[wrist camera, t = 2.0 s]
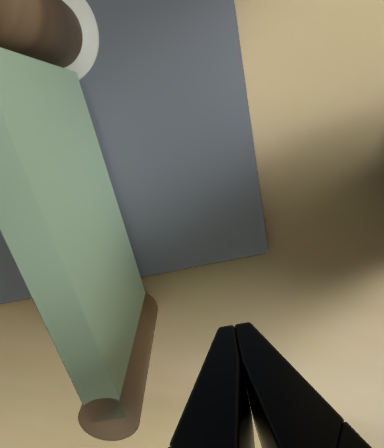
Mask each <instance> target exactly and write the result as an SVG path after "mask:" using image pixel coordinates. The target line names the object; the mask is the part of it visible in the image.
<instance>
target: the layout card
mask: <svg viewBox="0 0 384 448" xmlns="http://www.w3.org/2000/svg"><path fill="white" fill-rule="evenodd" d="M62 1H63V2H65V3H66V4H67V5H68V6H69V7H70V8H71V9H72V10H73V12H74V13H75V15H76V16H77V18H78V20H79V22H80V25H81V29H82V35H83V41H82V47H81V51H80V53H79V55H78V57H77V58H76V60H75V61H74V62H73V63H72V64H70V65H69V66H67V67H65V69H68V70H71V71H74V72H77V76H78V79H79V82H80V85H81V88H82V92H83V95H84V98H85V101H86V104H87V108H88V111H89V114H90V117H91V120H92V124H93V127H94V130H95V133H96V136H97V139H98V143H99V146H100V149H101V152H102V155H103V159H104V162H105V165H106V168H107V171H108V175H109V178H110V181H111V184H112V187H113V191H114V194H115V197H116V200H117V203H118V206H119V210H120V213H121V216H122V219H123V222H124V226H125V229H126V232H127V235H128V238H129V242H130V245H131V248H132V251H133V254H134V258H135V261H136V264H137V267H138V270H139V273H140V277H145V276H150V275H155V274H160V273H166V272H171V271H176V270H181V269H186V268H192V267H197V266H202V265H207V264H213V263H218V262H223V261H228V260H234V259H239V258H244V257H249V256H255V255H260V254H265V253H268V246H267V239H266V232H265V224H264V217H263V210H262V202H261V195H260V188H259V180H258V173H257V166H256V158H255V151H254V144H253V136H252V129H251V122H250V114H249V107H248V100H247V92H246V85H245V78H244V70H243V63H242V56H241V48H240V41H239V34H238V26H237V19H236V12H235V4H234V0H62ZM29 298H32V296H31V294H30V292H29V290H28V288H27V285H26V283H25V281H24V279H23V277H22V275H21V273H20V271H19V268H18V266H17V264H16V262H15V260H14V258H13V256H12V254H11V252H10V249H9V247H8V245H7V243H6V241H5V239H4V237H3V235H2V233H1V230H0V304H3V303H8V302H14V301H19V300H24V299H29Z"/></svg>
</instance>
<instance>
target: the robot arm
mask: <svg viewBox="0 0 384 448" xmlns="http://www.w3.org/2000/svg"><path fill="white" fill-rule="evenodd" d="M235 331H236V332H235ZM236 336H237V337H236ZM246 387H247V388H246ZM247 392H248V393H247ZM248 397H249V398H248ZM249 402H250V403H249ZM250 407H251V408H250ZM251 411H252V414H251ZM252 416H253V419H254V423H255V427H256V430H257V433H258V436H259V439H260V443H261V446H262V448H372V447H371V446H370V445H369V444H368V443H367V442H366V441H364V440H363V439H362V438H361V436H360V435H359V434H358V433H357V432H356V431H355V430H354V429H353V428H352V427H351V426H350V425H349V424H348V423H347V422H344V420H343V418H342V417H341V416H340V415H339V414H338V413H337V412H336V411H335V410H334V409H333V408H332V407H331V406H330V405H329V404H328V403H327V401H326V400H325V399H324V398H323V397H322V396H321V395H320V394H319V393H318V392H317V391H316V390H315V389H314V388H313V387H312V386H311V385H310V384H309V383H308V382H307V381H306V380H305V379H304V378H303V377H302V376H301V375H300V374H299V373H298V371H297V370H296V369H295V368H294V367H293V366H292V365H291V364H290V363H289V362H288V361H287V360H286V359H285V358H284V357H283V356H282V355H281V354H280V353H279V352H278V351H277V350H276V349H275V348H274V347H273V346H272V345H271V344H270V343H269V341H268V340H267V339H266V338H265V337H264V336H263V335H262V334H261V333H260V332H259V331H258V330H257V329H256V328H255V327H254V326H253V325H252V324H251V323H249V322H247V323H241V324H236V325H235V327H234V326H233V325H230V326H224V327H220V328H218V330H217V333H216V335H215V337H214V340H213V342H212V344H211V347H210V349H209V352H208V354H207V356H206V359H205V361H204V363H203V366H202V368H201V371H200V373H199V375H198V378H197V380H196V382H195V385H194V387H193V390H192V392H191V394H190V397H189V399H188V402H187V404H186V406H185V409H184V411H183V413H182V416H181V418H180V421H179V423H178V425H177V428H176V430H175V432H174V435H173V437H172V440H171V442H170V447H168V448H255V444H254V432H253V422H252Z"/></svg>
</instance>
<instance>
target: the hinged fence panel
mask: <svg viewBox="0 0 384 448" xmlns="http://www.w3.org/2000/svg"><path fill="white" fill-rule="evenodd" d="M0 230H1V233H2V235H3V237H4V239H5V241H6V243H7V245H8V247H9V249H10V252H11V254H12V256H13V258H14V260H15V262H16V264H17V266H18V268H19V271H20V273H21V275H22V277H23V279H24V281H25V283H26V285H27V288H28V290H29V292H30V294H31V296H32V298H33V300H34V302H35V304H36V307H37V309H38V311H39V313H40V315H41V317H42V319H43V321H44V323H45V326H46V328H47V330H48V332H49V334H50V336H51V338H52V340H53V342H54V345H55V347H56V349H57V351H58V353H59V355H60V357H61V359H62V362H63V364H64V366H65V368H66V370H67V372H68V374H69V376H70V378H71V381H72V383H73V385H74V387H75V389H76V391H77V393H78V395H79V397H80V400H81V402H82V406H81V409H80V411H79V415H78V420H79V424H80V426H81V427H82V429H83V430H84V431H85V432H86V433H88V434H89V435H91V436H93V437H95V438H98V439H101V440H107V441H116V440H122V439H125V438H127V437H129V436H131V435H132V434H134V433H135V431H136V430H137V429H138V427H139V422H140V416H141V410H142V404H143V398H144V391H145V385H146V379H147V373H148V367H149V361H150V354H151V348H152V342H153V336H154V330H155V324H156V317H157V311H158V306H157V303H156V301H155V299H154V298H153V297H152V296H151V295H149V294H147V293H145V289H144V286H143V283H142V280H141V277H140V273H139V270H138V267H137V264H136V261H135V258H134V254H133V251H132V248H131V245H130V242H129V238H128V235H127V232H126V229H125V226H124V222H123V219H122V216H121V213H120V210H119V206H118V203H117V200H116V197H115V194H114V191H113V187H112V184H111V181H110V178H109V175H108V171H107V168H106V165H105V162H104V159H103V155H102V152H101V149H100V146H99V143H98V139H97V136H96V133H95V130H94V127H93V124H92V120H91V117H90V114H89V111H88V108H87V104H86V101H85V98H84V95H83V92H82V88H81V85H80V82H79V79H78V76H77V72H74V71H71V70H68V69H65V68H62V67H59V66H56V65H53V64H50V63H47V62H44V61H41V60H37V59H34V58H31V57H28V56H25V55H22V54H19V53H16V52H13V51H10V50H7V49H4V48H1V47H0Z"/></svg>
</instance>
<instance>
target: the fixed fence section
mask: <svg viewBox="0 0 384 448" xmlns="http://www.w3.org/2000/svg"><path fill="white" fill-rule="evenodd" d="M82 41H83V35H82V29H81V25H80V22H79V20H78V18H77V16H76V15H75V13H74V12H73V10H72V9H71V8H70V7H69V6H68V5H67V4H66V3H65V2H63V1H62V0H0V47H1V48H4V49H7V50H10V51H13V52H16V53H19V54H22V55H25V56H28V57H31V58H34V59H37V60H41V61H44V62H47V63H50V64H53V65H56V66H59V67H62V68H65V67H67V66H69V65H70V64H72V63H73V62H74V61H75V60H76V58H77V57H78V55H79V53H80V51H81V47H82Z"/></svg>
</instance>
